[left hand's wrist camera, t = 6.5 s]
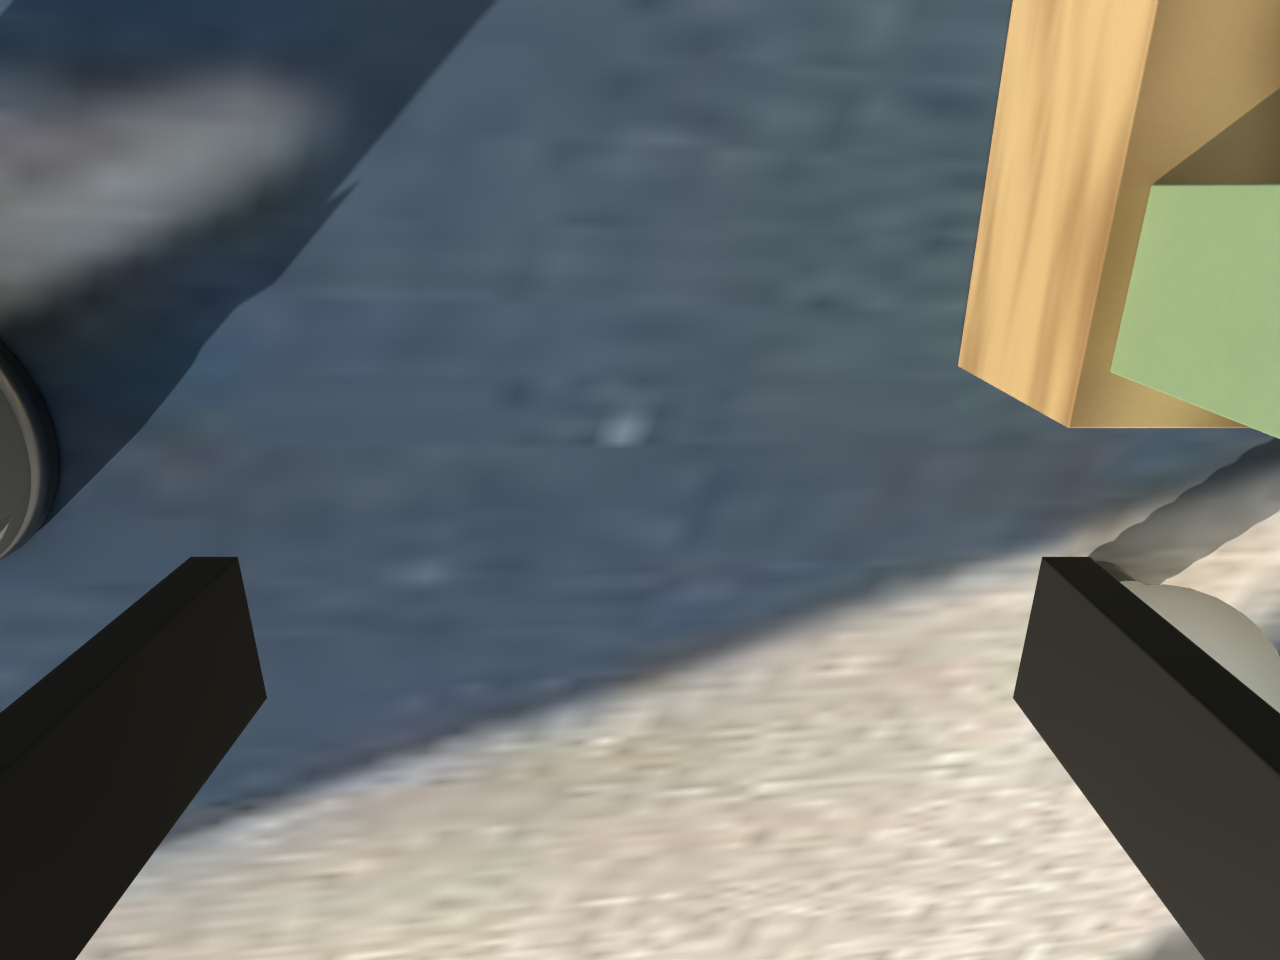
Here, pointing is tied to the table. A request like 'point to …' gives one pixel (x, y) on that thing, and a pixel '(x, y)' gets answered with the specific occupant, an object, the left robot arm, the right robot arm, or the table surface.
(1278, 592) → the table surface
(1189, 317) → the cap block
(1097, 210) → the plank
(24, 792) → the left robot arm
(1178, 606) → the light bulb
